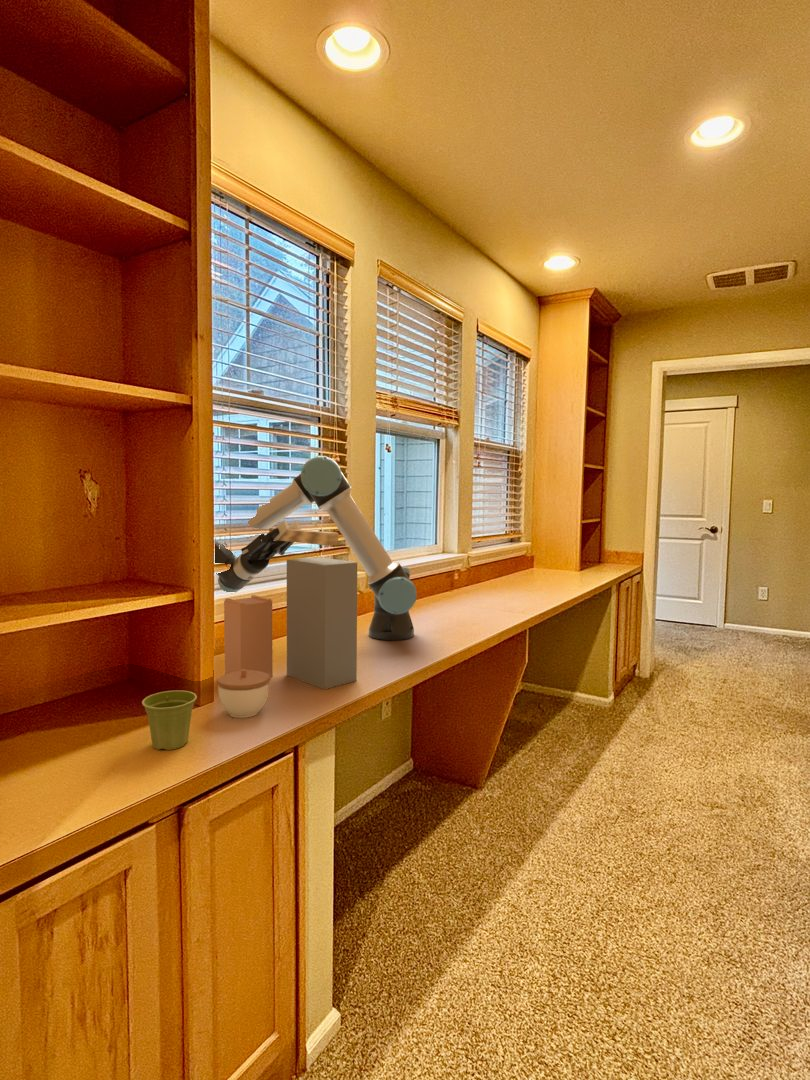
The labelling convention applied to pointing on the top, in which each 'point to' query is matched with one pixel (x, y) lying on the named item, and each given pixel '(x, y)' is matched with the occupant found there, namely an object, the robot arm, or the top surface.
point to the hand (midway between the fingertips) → (292, 524)
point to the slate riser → (322, 621)
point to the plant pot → (169, 718)
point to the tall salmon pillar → (248, 634)
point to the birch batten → (309, 537)
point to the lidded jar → (243, 692)
